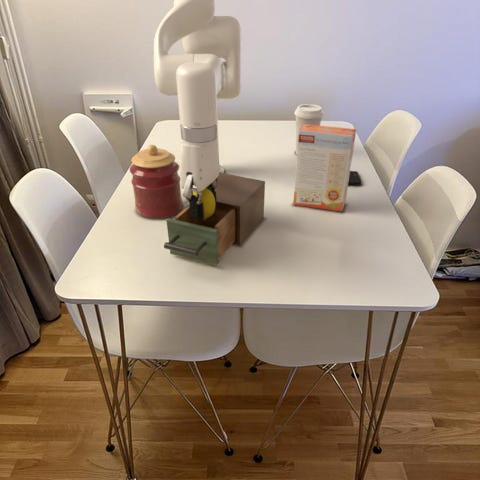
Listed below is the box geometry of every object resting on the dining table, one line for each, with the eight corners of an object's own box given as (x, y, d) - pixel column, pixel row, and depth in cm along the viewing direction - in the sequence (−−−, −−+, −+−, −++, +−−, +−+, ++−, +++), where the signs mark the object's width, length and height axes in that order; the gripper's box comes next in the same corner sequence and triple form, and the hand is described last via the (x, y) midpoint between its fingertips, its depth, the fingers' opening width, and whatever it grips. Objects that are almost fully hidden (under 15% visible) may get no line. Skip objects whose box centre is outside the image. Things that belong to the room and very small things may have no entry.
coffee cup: (323, 151, 162) (328, 106, 152) (311, 160, 156) (316, 113, 146) (299, 146, 166) (303, 101, 156) (286, 154, 160) (289, 108, 150)
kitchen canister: (127, 215, 126) (116, 150, 115) (150, 195, 135) (141, 134, 124) (169, 222, 123) (162, 157, 111) (190, 202, 132) (185, 139, 120)
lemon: (212, 226, 105) (211, 193, 100) (189, 224, 106) (186, 191, 100) (218, 215, 109) (217, 183, 104) (195, 212, 110) (193, 181, 104)
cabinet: (239, 246, 114) (239, 206, 107) (191, 234, 118) (188, 195, 111) (263, 218, 125) (265, 181, 118) (218, 208, 129) (217, 172, 122)
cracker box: (345, 203, 131) (357, 128, 118) (341, 213, 127) (354, 135, 113) (297, 196, 135) (304, 122, 121) (292, 205, 130) (298, 129, 117)
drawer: (206, 278, 102) (204, 243, 96) (158, 265, 106) (153, 231, 100) (242, 236, 115) (242, 204, 110) (199, 226, 119) (197, 194, 114)
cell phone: (300, 172, 148) (300, 169, 147) (357, 173, 147) (357, 171, 146) (301, 184, 141) (301, 181, 140) (360, 185, 140) (361, 182, 139)
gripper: (202, 117, 101) (206, 193, 113) (161, 143, 89) (170, 225, 101) (233, 121, 99) (234, 199, 111) (195, 149, 87) (200, 233, 99)
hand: (203, 211), depth 106 cm, fingers closed on lemon, 5 cm apart
